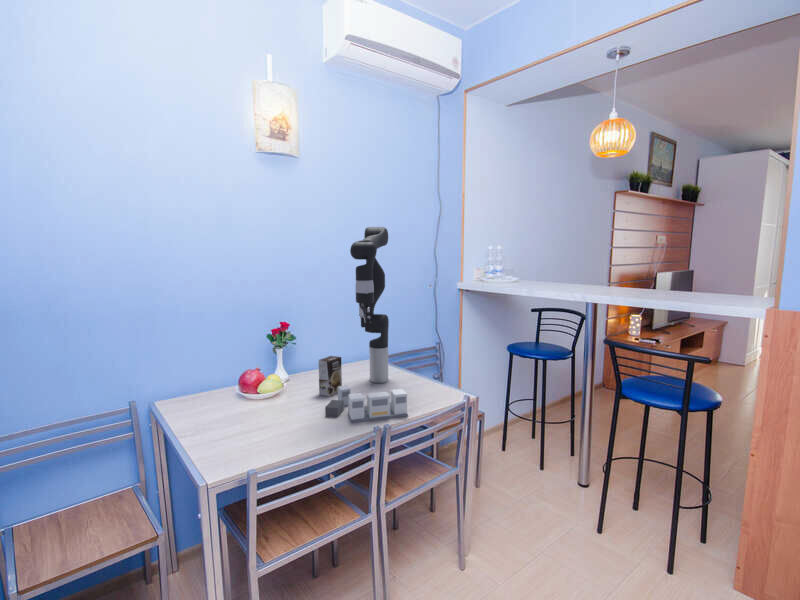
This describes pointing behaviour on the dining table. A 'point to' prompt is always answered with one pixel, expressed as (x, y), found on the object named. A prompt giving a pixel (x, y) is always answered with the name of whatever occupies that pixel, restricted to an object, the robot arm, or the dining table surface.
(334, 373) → the coffee box
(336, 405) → the block
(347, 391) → the block
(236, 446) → the dining table surface
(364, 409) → the rail mount
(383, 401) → the loose module
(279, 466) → the dining table surface
